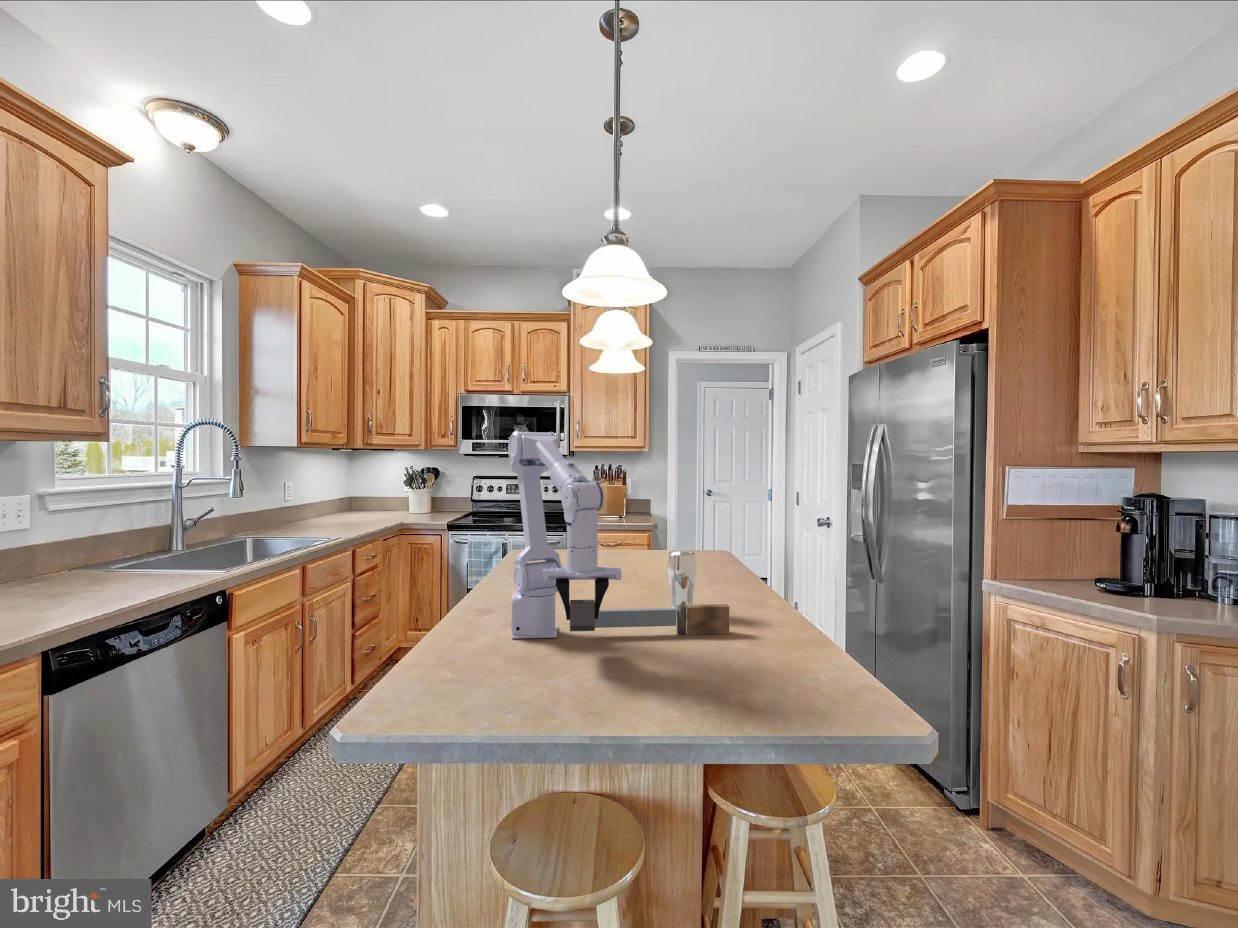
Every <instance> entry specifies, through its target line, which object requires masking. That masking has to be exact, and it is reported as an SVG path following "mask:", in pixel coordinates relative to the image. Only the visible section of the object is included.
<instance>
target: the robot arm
mask: <svg viewBox="0 0 1238 928" xmlns="http://www.w3.org/2000/svg"><path fill="white" fill-rule="evenodd" d="M559 444H560V443H559V438H558V436H557V434H556V433H555V432H553V431H549V432H542V431H541V432H540V431H539V432H536V431H534V432H533V431H517V430H515V431H513V432H512V433H511V435H510V436H509V440H508V444H507V445H508V446H507V448H508V449H507V450H508V460H509V466H510V472H513V473H515V474H516V475H517V482H518V484H517V485H518V491H519V501H520V510H521V520H522V529H523V540H524V547H525V548H524V549H523V550H522V551H521V552H520V553H519V554H518V555H517V556H515V559H514V561H513V576H512V577H513V578H512V579H513V585H514V587H515V589H516V590H517V592H514V593H513V594H512V598H511V599H512V601H511V621H510V622H511V623H510V625H511V639H516V640H517V639H550V638H551V639H553V638H557V637H558V628H559V627H558V624H556V593H558V594H559V596H560V599H561V601H562V604H563V607H564V611H565V616H566V617H565V618H566V621H570V581H581V580H582V581H587V580H589V581H592V580H594V602H595V619H598V614H599V610H601V605H602V602H603V599H604V597H605V594H606V592H607V591H608V588H609V586H610V582H609V580H615V581H621V580H622V568H621V567H605V566H604V567H603V566H602V567H601V566H599V565H598V563H599V562H598V558H599V557H598V556H599V555H598V551H599V550H598V549H599V548H598V542H599V541H598V539H599V538H598V531H599V530H598V526H599V525H598V524H599V521H598V520H599V517H598V515H599V514H598V513H599V512H600V511H601V510H602V508H603V506H604V502H605V501H604V500H605V494H604V489H603V487H602V485H601V483H600V481H598V480H591V479H588V478H587V477H586V476H585V475H584V473H583V472H582V471H581V469H579V467H578V466H577V465H576V463H575V462H574V460H567V459H565V458H564V456H563V455H562V453H561V451H560V450H559V447H560V445H559ZM548 470H549V471H550V473H549V478H550V481H551V482H552V484H553V485H554V487H555V488H556V489H557V491H559V494H560V495H561V505H562V508H563V513H564V514H563V518H564V521H565V522H566V567H563V565H562V562H561V557H560V553H558V552H557V551H556V550H554V549H553V548H551V547H550V546H549V544H548V537H547V534H548V533H547V527H546V517H545V508H544V501H543V494H542V493H543V492H542V483H541V476H542V474H543V473H545V472H547V471H548Z"/></svg>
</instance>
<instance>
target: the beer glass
mask: <svg viewBox="0 0 1238 928" xmlns="http://www.w3.org/2000/svg"><path fill="white" fill-rule="evenodd" d="M696 556H697V555H696V552H694V551H688V550H673V551H669V552H668V558H667V580H668V587H669V592H670V605H669V606H670V607H669V608H676V618H677V606H678V605H684V606H686V619H687V605H694V602H693V600H694V592H695V587H696V586H695V585H696V581H697V580H696V579H697V558H696Z"/></svg>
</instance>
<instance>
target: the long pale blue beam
mask: <svg viewBox="0 0 1238 928" xmlns="http://www.w3.org/2000/svg"><path fill="white" fill-rule="evenodd" d="M640 627H643V628H644V627H645V628H646V627H648V628H649V627H677V617H676V608H670V607H657V608H656V607H655V608H654V607H653V608H652V607H651V608H608V609H601V608H600V610H599V614H598V619H595V629H601V628H602V629H603V628H604V629H606V628H607V629H608V628H640Z"/></svg>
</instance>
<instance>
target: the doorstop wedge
mask: <svg viewBox="0 0 1238 928" xmlns="http://www.w3.org/2000/svg"><path fill="white" fill-rule="evenodd" d="M569 601H570V620H569V632H595V631H596V628H595V599H569Z"/></svg>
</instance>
